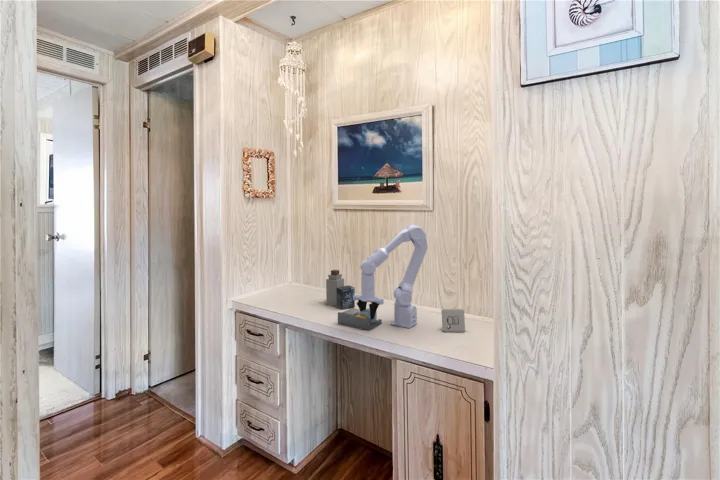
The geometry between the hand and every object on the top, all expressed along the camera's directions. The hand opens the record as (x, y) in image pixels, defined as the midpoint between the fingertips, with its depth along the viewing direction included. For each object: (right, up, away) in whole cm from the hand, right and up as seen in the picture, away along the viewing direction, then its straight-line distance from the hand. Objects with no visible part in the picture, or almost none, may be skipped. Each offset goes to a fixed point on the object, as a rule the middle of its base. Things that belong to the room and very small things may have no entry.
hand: (368, 318), depth 163 cm
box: (-11, -1, +27) cm, 29 cm away
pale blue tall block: (0, -3, +1) cm, 3 cm away
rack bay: (-4, -3, +2) cm, 5 cm away
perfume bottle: (-16, 0, +33) cm, 37 cm away
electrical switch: (+35, -4, -7) cm, 36 cm away
